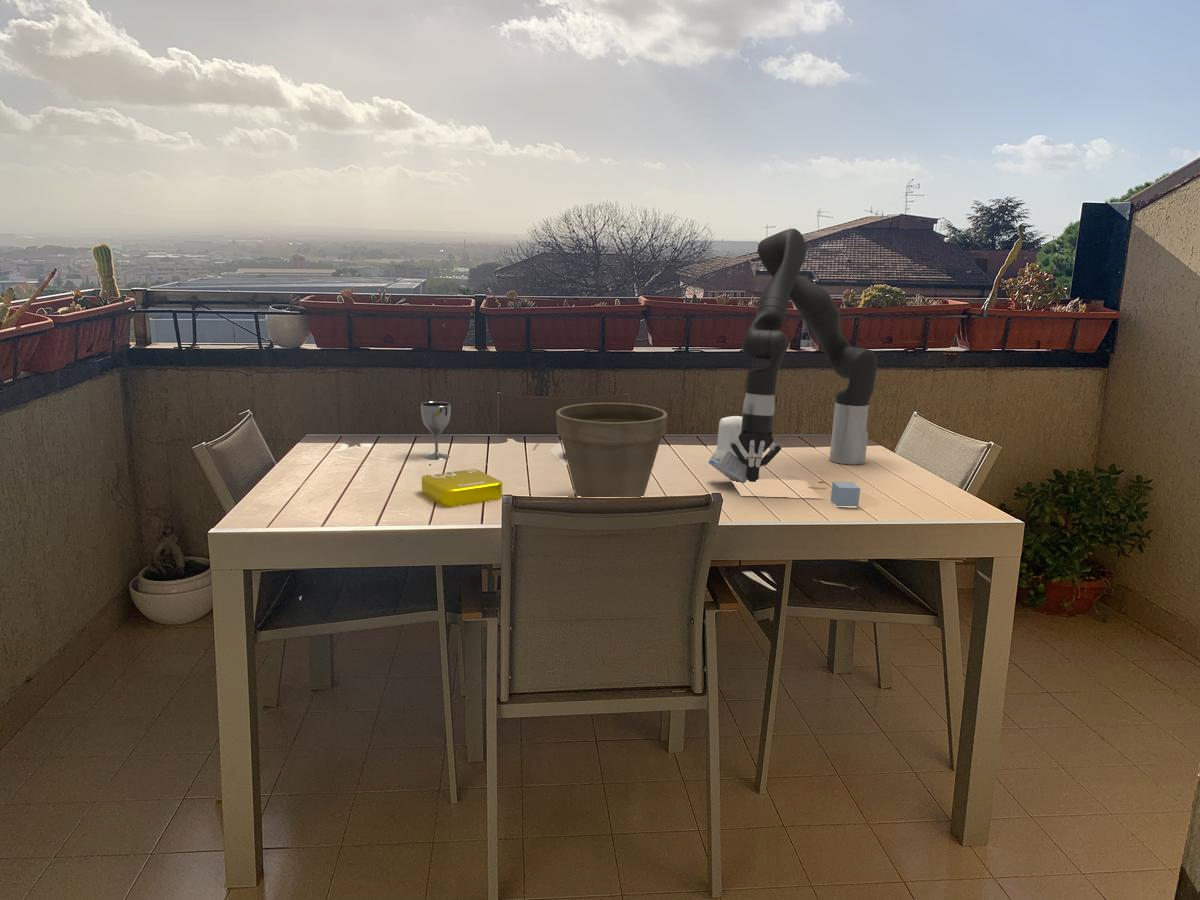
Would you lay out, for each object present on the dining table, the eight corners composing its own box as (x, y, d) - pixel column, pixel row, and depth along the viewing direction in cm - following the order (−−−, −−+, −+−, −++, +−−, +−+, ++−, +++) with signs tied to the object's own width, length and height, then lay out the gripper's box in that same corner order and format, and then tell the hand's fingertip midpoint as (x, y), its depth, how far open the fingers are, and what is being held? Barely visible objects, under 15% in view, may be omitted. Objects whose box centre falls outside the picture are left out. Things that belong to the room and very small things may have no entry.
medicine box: (754, 469, 193) (728, 449, 192) (744, 484, 193) (718, 464, 191) (741, 467, 201) (716, 448, 199) (732, 481, 201) (707, 462, 199)
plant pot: (544, 515, 168) (545, 417, 163) (564, 485, 192) (566, 399, 187) (658, 523, 165) (664, 424, 160) (665, 492, 189) (670, 404, 184)
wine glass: (416, 458, 214) (415, 404, 211) (432, 452, 221) (431, 400, 218) (440, 461, 211) (439, 407, 208) (456, 455, 218) (456, 403, 215)
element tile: (445, 510, 171) (445, 489, 170) (418, 493, 183) (418, 473, 182) (505, 500, 179) (505, 480, 178) (476, 485, 191) (476, 466, 190)
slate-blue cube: (851, 502, 186) (853, 482, 185) (857, 508, 181) (860, 488, 180) (830, 501, 186) (832, 481, 185) (836, 508, 181) (838, 487, 180)
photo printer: (748, 456, 230) (751, 415, 227) (752, 459, 226) (756, 417, 223) (714, 456, 228) (717, 414, 226) (718, 459, 224) (721, 417, 221)
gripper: (781, 412, 193) (774, 479, 196) (728, 408, 193) (722, 476, 196) (789, 415, 186) (781, 486, 189) (734, 412, 185) (728, 482, 188)
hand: (751, 481), depth 192 cm, fingers closed
